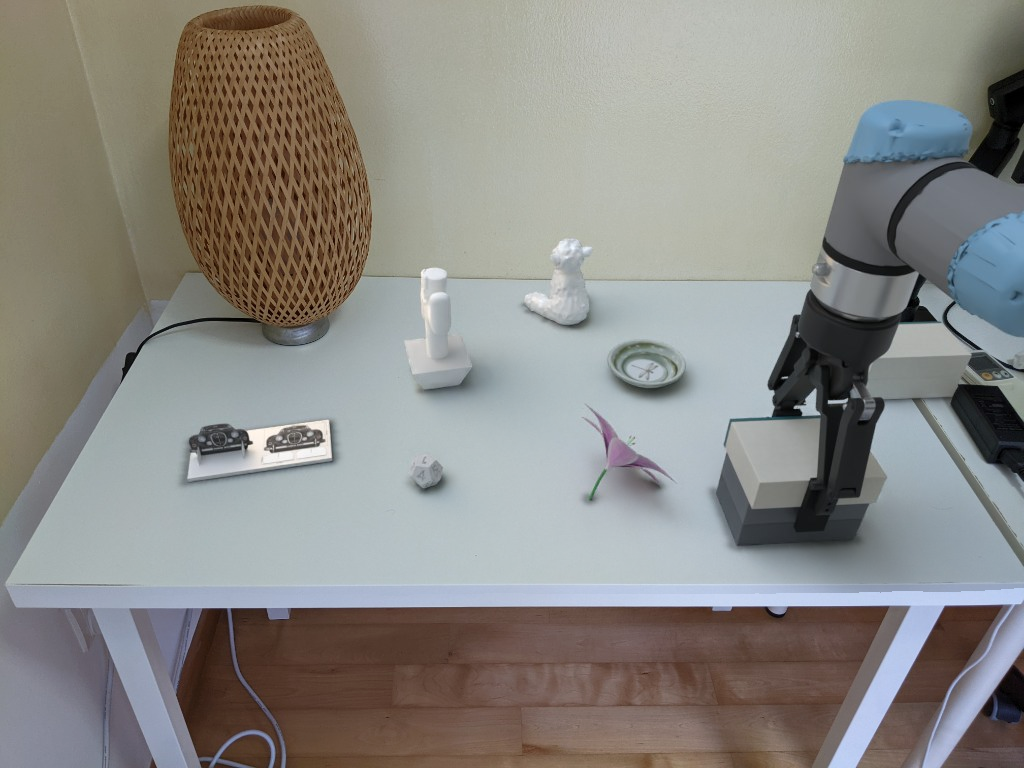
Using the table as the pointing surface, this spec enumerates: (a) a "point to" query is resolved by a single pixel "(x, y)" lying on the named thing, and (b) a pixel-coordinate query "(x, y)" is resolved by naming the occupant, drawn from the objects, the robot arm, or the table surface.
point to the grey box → (778, 517)
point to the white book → (785, 461)
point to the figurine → (437, 338)
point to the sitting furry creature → (564, 286)
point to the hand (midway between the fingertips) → (790, 492)
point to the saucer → (646, 363)
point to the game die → (425, 470)
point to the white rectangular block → (919, 363)
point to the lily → (621, 452)
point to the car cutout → (256, 449)
